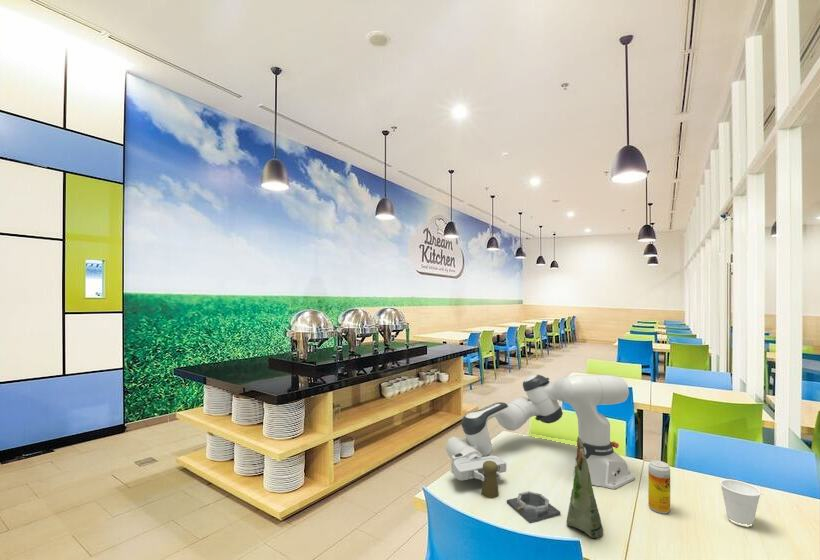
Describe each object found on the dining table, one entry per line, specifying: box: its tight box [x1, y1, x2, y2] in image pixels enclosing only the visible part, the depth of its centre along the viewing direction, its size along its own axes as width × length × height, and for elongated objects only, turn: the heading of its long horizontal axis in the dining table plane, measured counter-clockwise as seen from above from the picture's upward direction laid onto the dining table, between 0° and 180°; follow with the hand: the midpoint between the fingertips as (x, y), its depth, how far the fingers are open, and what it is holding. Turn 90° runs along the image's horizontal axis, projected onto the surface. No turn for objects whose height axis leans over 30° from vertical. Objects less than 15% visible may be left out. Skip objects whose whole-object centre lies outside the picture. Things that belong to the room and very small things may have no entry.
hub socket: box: [506, 491, 561, 524], centre depth 129 cm, size 12×12×3 cm
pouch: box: [566, 438, 604, 539], centre depth 120 cm, size 11×12×25 cm
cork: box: [481, 461, 500, 499], centre depth 138 cm, size 6×6×11 cm
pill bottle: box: [647, 459, 671, 515], centre depth 130 cm, size 6×6×15 cm
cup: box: [719, 478, 762, 525], centre depth 123 cm, size 10×10×11 cm
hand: (491, 477), depth 138 cm, fingers closed on cork, 4 cm apart
